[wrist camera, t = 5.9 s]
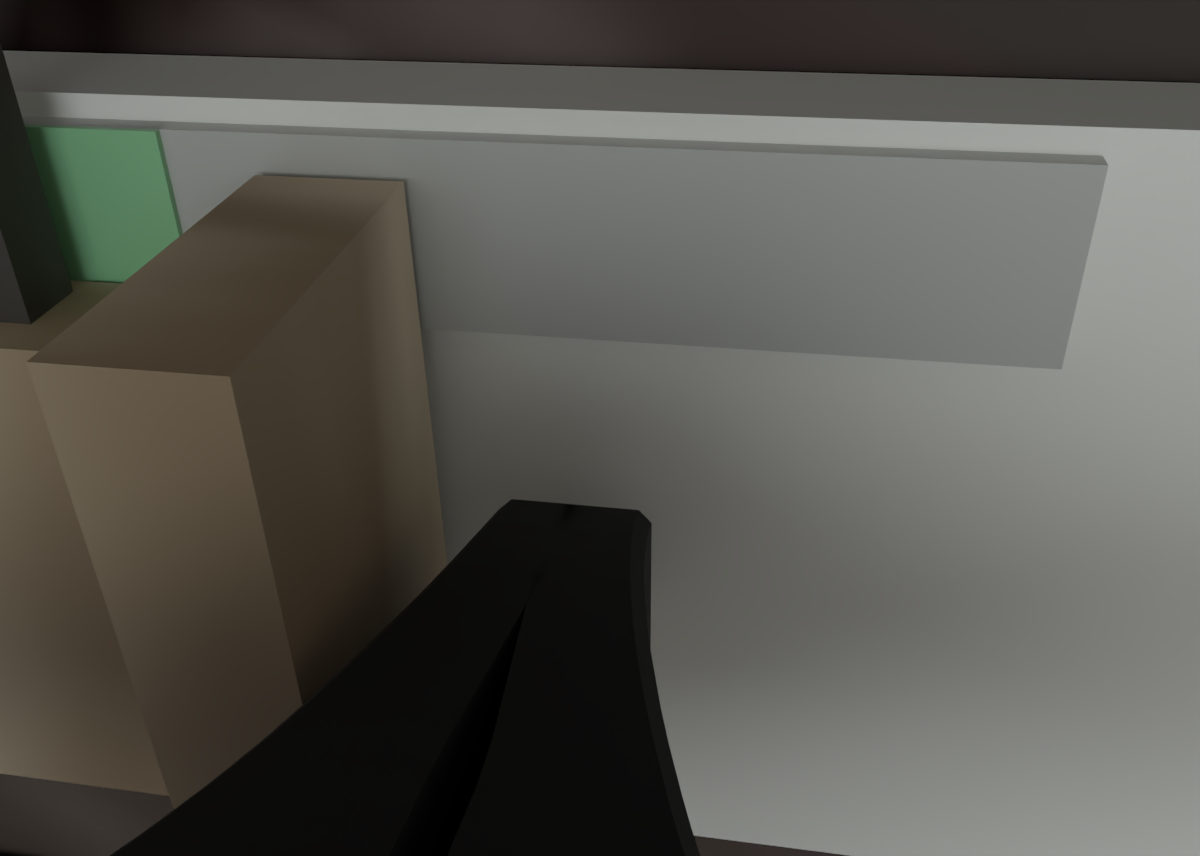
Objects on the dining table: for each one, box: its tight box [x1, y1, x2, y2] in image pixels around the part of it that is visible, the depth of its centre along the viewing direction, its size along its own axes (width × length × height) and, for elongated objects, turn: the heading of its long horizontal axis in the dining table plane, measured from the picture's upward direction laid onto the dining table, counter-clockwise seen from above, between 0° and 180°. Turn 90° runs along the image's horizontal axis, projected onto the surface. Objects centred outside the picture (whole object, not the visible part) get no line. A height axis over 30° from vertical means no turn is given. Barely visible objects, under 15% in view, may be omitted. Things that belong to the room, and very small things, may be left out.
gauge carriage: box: [0, 43, 447, 809], centre depth 9 cm, size 5×9×3 cm, turn 1°
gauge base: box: [3, 50, 1200, 856], centre depth 11 cm, size 20×8×3 cm, turn 91°
